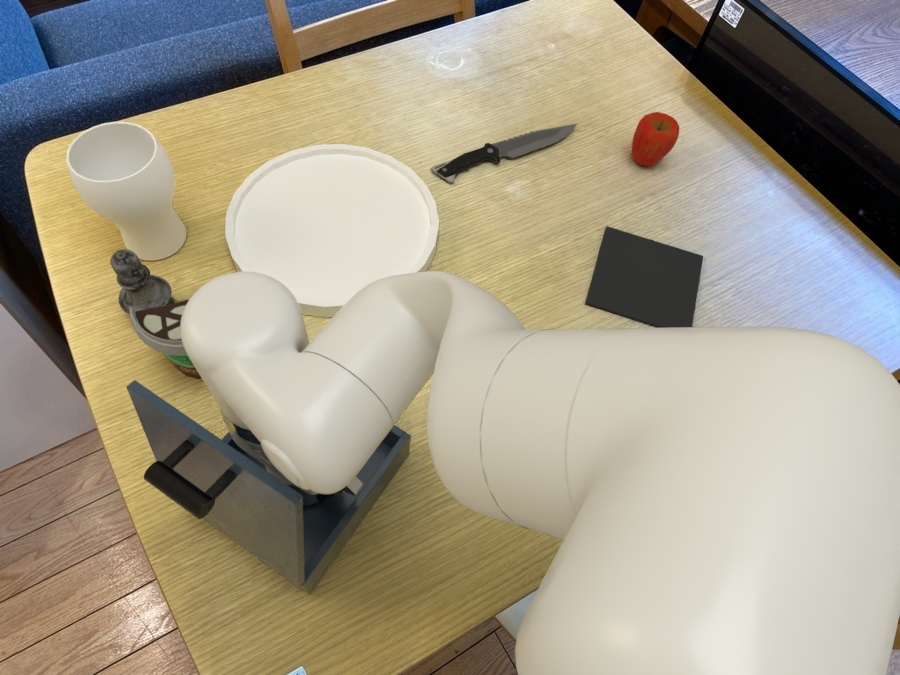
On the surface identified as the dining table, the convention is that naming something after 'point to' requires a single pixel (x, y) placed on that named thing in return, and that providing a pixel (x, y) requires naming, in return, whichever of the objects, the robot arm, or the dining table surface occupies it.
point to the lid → (222, 486)
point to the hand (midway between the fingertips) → (302, 470)
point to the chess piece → (139, 283)
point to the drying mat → (645, 280)
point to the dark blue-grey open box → (344, 506)
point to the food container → (164, 334)
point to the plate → (331, 223)
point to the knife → (502, 150)
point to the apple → (654, 138)
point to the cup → (129, 186)
